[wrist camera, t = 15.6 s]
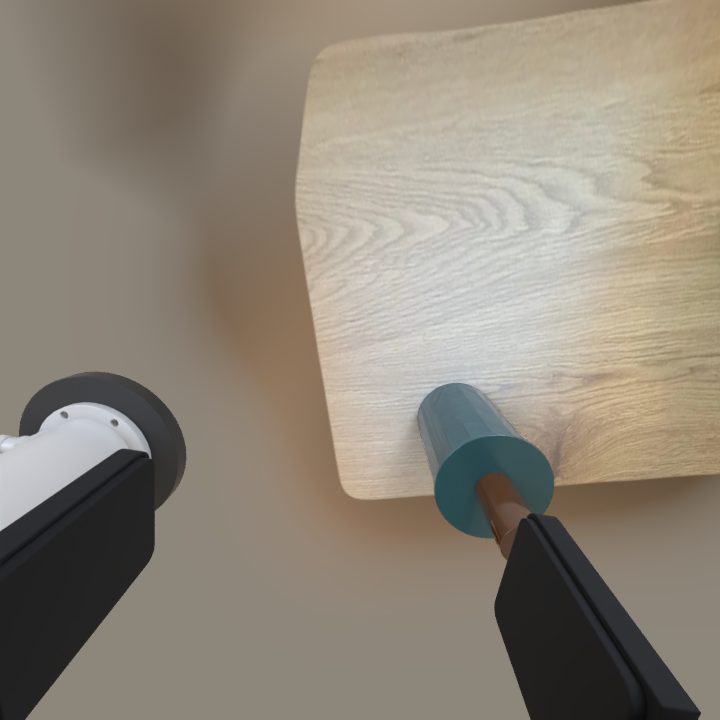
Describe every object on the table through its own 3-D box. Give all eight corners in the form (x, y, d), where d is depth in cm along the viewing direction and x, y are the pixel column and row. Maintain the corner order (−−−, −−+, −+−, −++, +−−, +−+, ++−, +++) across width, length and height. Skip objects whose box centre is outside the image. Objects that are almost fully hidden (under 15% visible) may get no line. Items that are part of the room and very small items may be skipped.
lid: (422, 519, 28) (436, 593, 21) (444, 420, 26) (467, 469, 19) (530, 536, 28) (576, 615, 21) (561, 438, 25) (623, 493, 19)
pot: (411, 445, 39) (427, 521, 27) (425, 377, 37) (448, 428, 25) (482, 456, 39) (529, 538, 27) (499, 389, 37) (559, 445, 25)
